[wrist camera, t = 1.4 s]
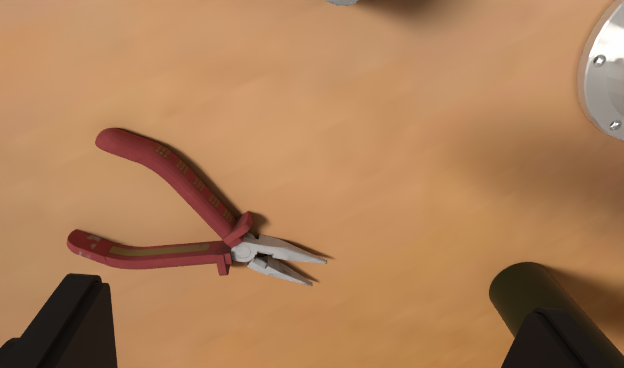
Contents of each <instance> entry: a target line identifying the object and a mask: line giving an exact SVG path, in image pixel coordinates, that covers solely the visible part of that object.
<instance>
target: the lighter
mask: <svg viewBox="0 0 624 368" xmlns="http://www.w3.org/2000/svg"><path fill="white" fill-rule="evenodd" d="M326 1H327V2H329V3H332V4H335V5H337V6H347V5H351V4H354V3H356V2H357V1H358V0H326Z"/></svg>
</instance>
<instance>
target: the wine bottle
mask: <svg viewBox="0 0 624 368" xmlns="http://www.w3.org/2000/svg"><path fill="white" fill-rule="evenodd" d="M489 297H490V300H491V302H492V303H493V305H494V306H495V308H496V310H497V311H498V313H499V314H500V316H501V317H502V319H503V320H504V322H505V324H506V325H507V327H508V328H509V330H510V331H511V333H512V334H513V336H514V337H516V335H517V333H518V331H519V329H520V327H521V325H522V323H523V320H524V318H525V317H526V315H527V314H529V313H531V312H532V311H533V309H535V308H538V307H542V308H556V309H563V310H565V311H566V312H567V313H568V314H569V315H570V316H571V317H572V318H573V319H574V321H575V322H576V323H577V324H578V325H579V327H580V328H581V329H582V330H583V331H584V333H585V334H586V335H587V336H588V337H589V338H590V340H591V341H592V342H593V343H594V344H595V346H596V347H597V348H598V349H599V350H600V352H601V353H602V354H603V355H604V356H605V358H606V359H607V360H608V361H609V362H610V364H611V365H612V366H613V367H614V368H624V356H623V355H622V353H621V352H620V351H619V350H618V349H617V348H616V347H615V346H614V345H613V343H612V342H611V341H610V340H609V339H608V338H607V337H606V336H605V335H604V333H603V332H602V331H601V330H600V329H599V328H598V327H597V326H596V325H595V323H594V322H593V321H592V320H591V319H590V318H589V317H588V316H587V315H586V313H585V312H584V311H583V310H582V309H581V308H580V307H579V306H578V305H577V304H576V302H575V301H574V300H573V299H572V298H571V297H570V296H569V295H568V294H567V292H566V291H565V290H564V289H563V288H562V287H561V286H560V285H559V284H558V282H557V281H556V280H555V279H554V278H553V277H552V276H551V275H550V274H549V272H548V271H547V270H546V269H545V268H544V267H542V266H541V265H538V264H535V263H519V264H515V265H512V266H510V267H508V268H506V269H504V270H503V271H502V272H500V273H499V274H498V275H497V276H496V277H495V279H494V280H493V281H492V283H491V286H490V289H489Z"/></svg>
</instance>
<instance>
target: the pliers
mask: <svg viewBox="0 0 624 368" xmlns="http://www.w3.org/2000/svg"><path fill="white" fill-rule="evenodd" d="M95 144H96V146H97V147H99V148H100V149H102V150H104V151H106V152H109V153H111V154H114V155H117V156H120V157H123V158H126V159H128V160H131V161H134V162H138V163H140V164H142V165H144V166H146V167H148V168H149V169H151V170H153V171H154V172H156V173H157V174H158V175H160V176H161V177H162V178H163V179H165V180H166V181H167V182H168V183H169V184H170V185H171V186H172V187H173V188H174V189H175V190H176V191H177V192H178V193H179V194H180V195H181V197H182V198H183V199H184V200H185V201H186V202H187V203H188V204H189V205H190V206H191V207H192V208H193V209H194V210H195V211H196V212H197V213H198V214H199V215H200V216H201V217H202V218H203V219H204V220H205V221H206V223H207V224H208V225H209V226H210V227H211V228H212V229H213V230H214V231H215V232H216V233H217V234H218V235H219V236H220V237H221V238H222V240H223V241H212V242H200V243H188V244H175V245H163V246H151V247H133V246H125V245H120V244H117V243H113V242H110V241H108V240H105V239H102V238H99V237H97V236H94V235H91V234H88V233H85V232H82V231H79V230H77V229H76V230H74V231H72V232H71V233H70V235H69V236H68V239H67V246H68V248H69V249H70V250H71V251H72V252H73V253H75V254H77V255H80V256H83V257H86V258H89V259H91V260H94V261H97V262H100V263H102V264H105V265H108V266H111V267H115V268H121V269H153V268H165V267H177V266H189V265H201V264H213V263H217V267H218V272H219V275H220V276H222V275H228V273H229V268H230V264H232V263H233V260H234V261H239V262H247V267H249V268H251V269H253V270H255V271H258V272H260V273H262V274H266V275H270V276H274V277H277V278H281V279H285V280H289V281H293V282H297V283H301V284H305V285H309V286H313V285H312V282H310V281H309V280H307V279H306V278H304V277H303V276H301V275H300V274H298V273H297V272H295V271H294V270H292V269H291V268H289V267H288V266H286V265H285V264H283V263H281V262H280V261H278V260H276V259H274V258H278V259H284V260H291V261H302V262H313V263H325V264H327V260H325V259H323V258H320V257H318V256H316V255H314V254H311V253H309V252H307V251H305V250H303V249H300V248H298V247H296V246H294V245H291V244H289V243H287V242H285V241H282V240H280V239H277V238H274V237H270V236H265V235H260V234H259V238H258V239H256V238H255V237H254V235H252V234H251V233H249V232H247V231H248V230H249V229H250V228H251V226H252V221H253V216H252V215H251V214H250V213H249V211H247V212H246V213H244V214H243V215H241V216H239V217H238V218H235V217H234V216H233V215H232V214H231V213H230V212H229V210H228V209H227V208H226V207H225V206H224V205H223V204H222V203H221V202H220V201H219V200H218V198H217V197H216V196H215V195H214V194H213V193H212V192H211V191H210V190H209V189H208V188H207V186H206V185H205V184H204V183H203V182H202V181H201V180H200V179H199V178H198V177H197V176H196V174H195V173H194V172H193V171H192V170H191V169H190V168H189V167H188V166H187V165H186V164H185V163H184V162H183V161H182V160H181V159H180V158H179V157H178V156H176V155H175V154H174V153H173V152H171V151H170V150H169V149H167V148H166V147H164V146H162V145H161V144H159V143H157V142H154V141H151V140H148V139H146V138H143V137H140V136H137V135H134V134H131V133H129V132H126V131H123V130H120V129H117V128H108V129H105V130H103V131H101V132H100V133H99V135H98V136H97V138H96V141H95ZM257 252H258V253H263V254H268V255H267V256H265V257H258V256H257ZM269 255H272V257H271V256H269Z"/></svg>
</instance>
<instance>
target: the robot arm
mask: <svg viewBox="0 0 624 368" xmlns="http://www.w3.org/2000/svg"><path fill="white" fill-rule="evenodd" d="M577 89H578V97H579V101H580V104H581V108H582V110H583V112H584V113H585V115H586V117H587V119H588V120H589V121H590V122H591V123H592V124H593V125H594V126H595V127H596V128H597V129H599V130H600V131H602V132H604V133H606V134H607V135H609V136H612V137H614V138H616V139H619V140H621V141H624V0H615V1H614V2H613V3H612V4H611V5H610V7H609V8H608V9H607V10H606V11H605V12H604V14H603V15H602V17H601V18H600V20H599V21H598V22H597V24H596V25H595V27H594V28H593V30H592V32H591V34H590V36H589V38H588V40H587V42H586V44H585V47H584V50H583V53H582V56H581V59H580V62H579V69H578V76H577ZM0 368H117V357H116V347H115V336H114V325H113V315H112V304H111V293H110V286H109V284H108V283H102V280H101V278H100V276H98V275H86V274H73V273H70V274H68V275H67V276H66V277H65V278H64V279H63V280H62V282H61V283H60V284H59V286H58V287H57V288H56V290H55V291H54V292H53V294H52V295H51V296H50V298H49V299H48V300H47V302H46V303H45V305H44V306H43V307H42V309H41V310H40V311H39V313H38V314H37V315H36V317H35V318H34V319H33V321H32V322H31V323H30V325H29V326H28V328H27V329H26V330H25V332H24V333H23V334H22V336H21V337H20V338H12V339H10V340H8V341H7V342H6V343H5V344H4V345H3V346H2V347H1V348H0ZM501 368H614V367H613V366H612V365H611V364H610V362H609V361H608V360H607V359H606V358H605V356H604V355H603V354H602V353H601V352H600V350H599V349H598V348H597V347H596V346H595V344H594V343H593V342H592V341H591V340H590V338H589V337H588V336H587V335H586V334H585V333H584V331H583V330H582V329H581V328H580V327H579V325H578V324H577V323H576V322H575V321H574V319H573V318H572V317H571V316H570V315H569V314H568V313H567V312H566V311H565V310H563V309H556V308H542V307H538V308H535V309H533V311H532V312H531V313H529V314H527V315H526V317H525V318H524V320H523V323H522V325H521V327H520V329H519V331H518V333H517V335H516V337H515V339H514V341H513V344H512V346H511V348H510V350H509V352H508V354H507V356H506V358H505V360H504V362H503V365H502V367H501Z"/></svg>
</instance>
